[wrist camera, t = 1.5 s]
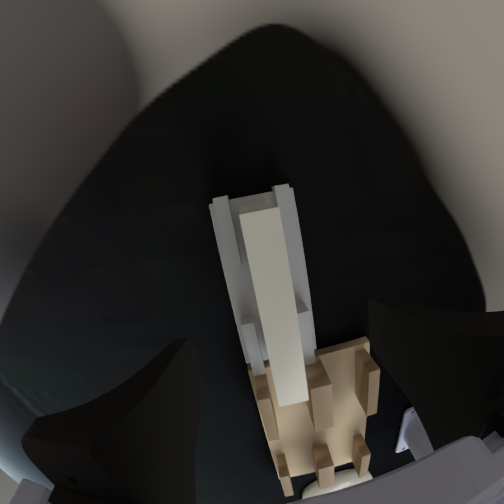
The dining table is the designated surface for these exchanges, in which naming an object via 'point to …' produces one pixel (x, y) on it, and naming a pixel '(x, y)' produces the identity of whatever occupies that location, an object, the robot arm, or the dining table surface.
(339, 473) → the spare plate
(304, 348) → the plate stand
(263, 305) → the white curved panel
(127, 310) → the dining table surface
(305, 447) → the dish rack
